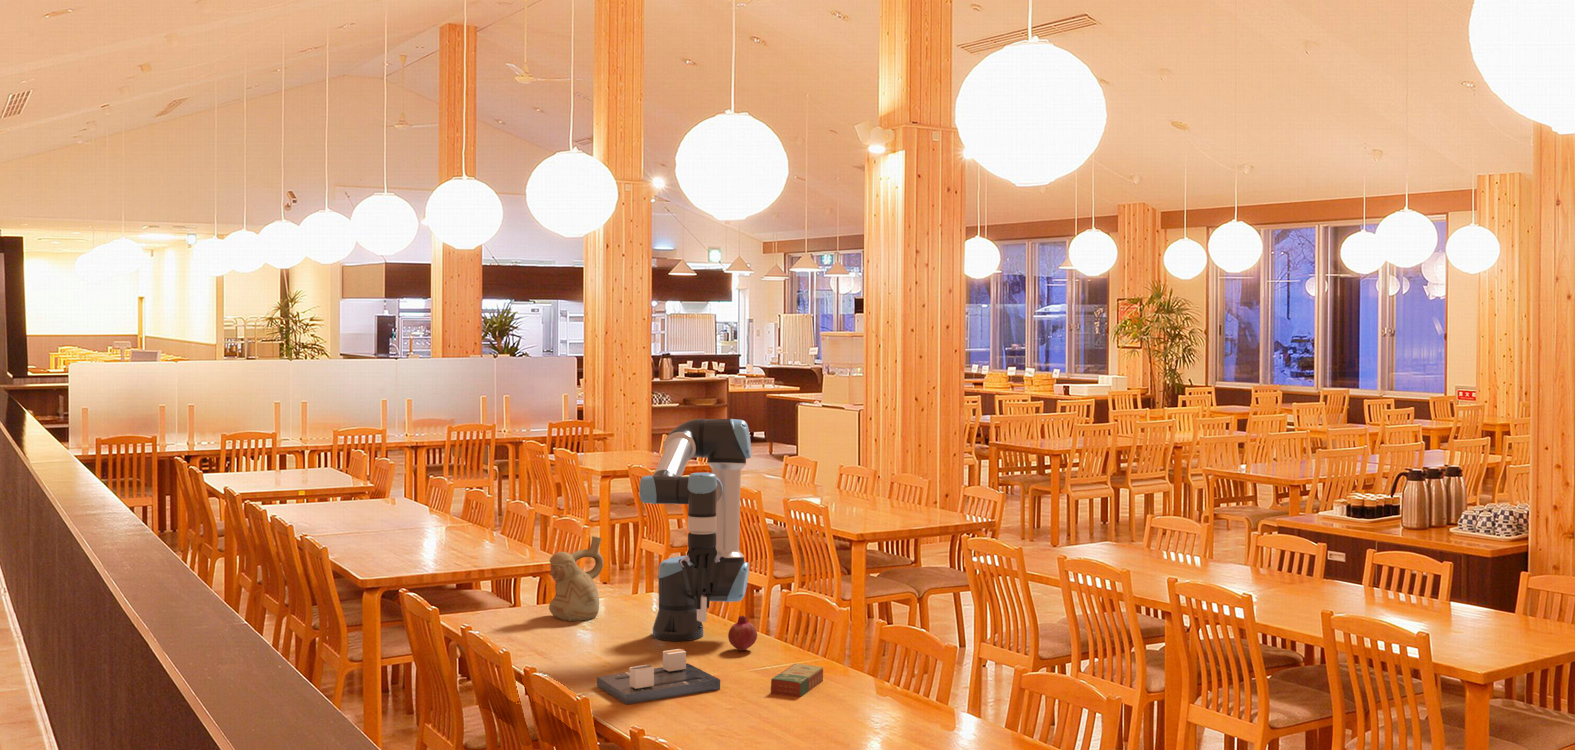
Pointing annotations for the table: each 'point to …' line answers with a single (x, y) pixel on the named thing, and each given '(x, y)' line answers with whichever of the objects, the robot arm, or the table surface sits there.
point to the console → (659, 685)
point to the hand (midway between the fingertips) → (701, 620)
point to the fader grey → (641, 676)
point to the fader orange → (674, 660)
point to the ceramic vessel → (575, 584)
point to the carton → (797, 680)
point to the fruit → (742, 634)
